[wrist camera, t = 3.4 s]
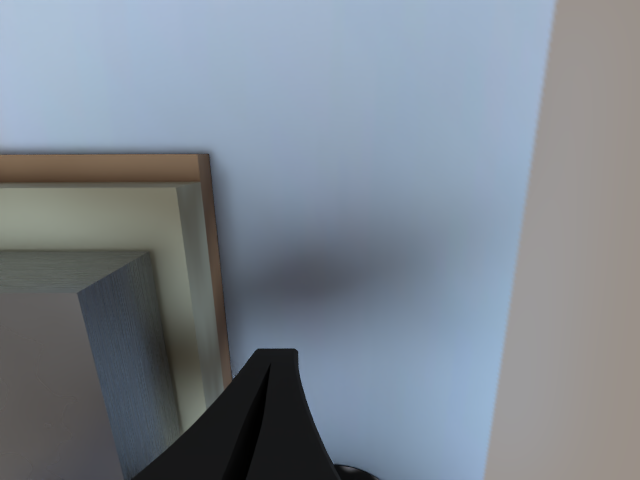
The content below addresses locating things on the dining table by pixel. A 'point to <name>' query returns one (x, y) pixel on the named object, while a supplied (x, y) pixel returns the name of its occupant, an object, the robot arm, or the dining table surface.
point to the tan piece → (135, 244)
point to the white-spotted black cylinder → (352, 473)
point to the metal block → (82, 366)
